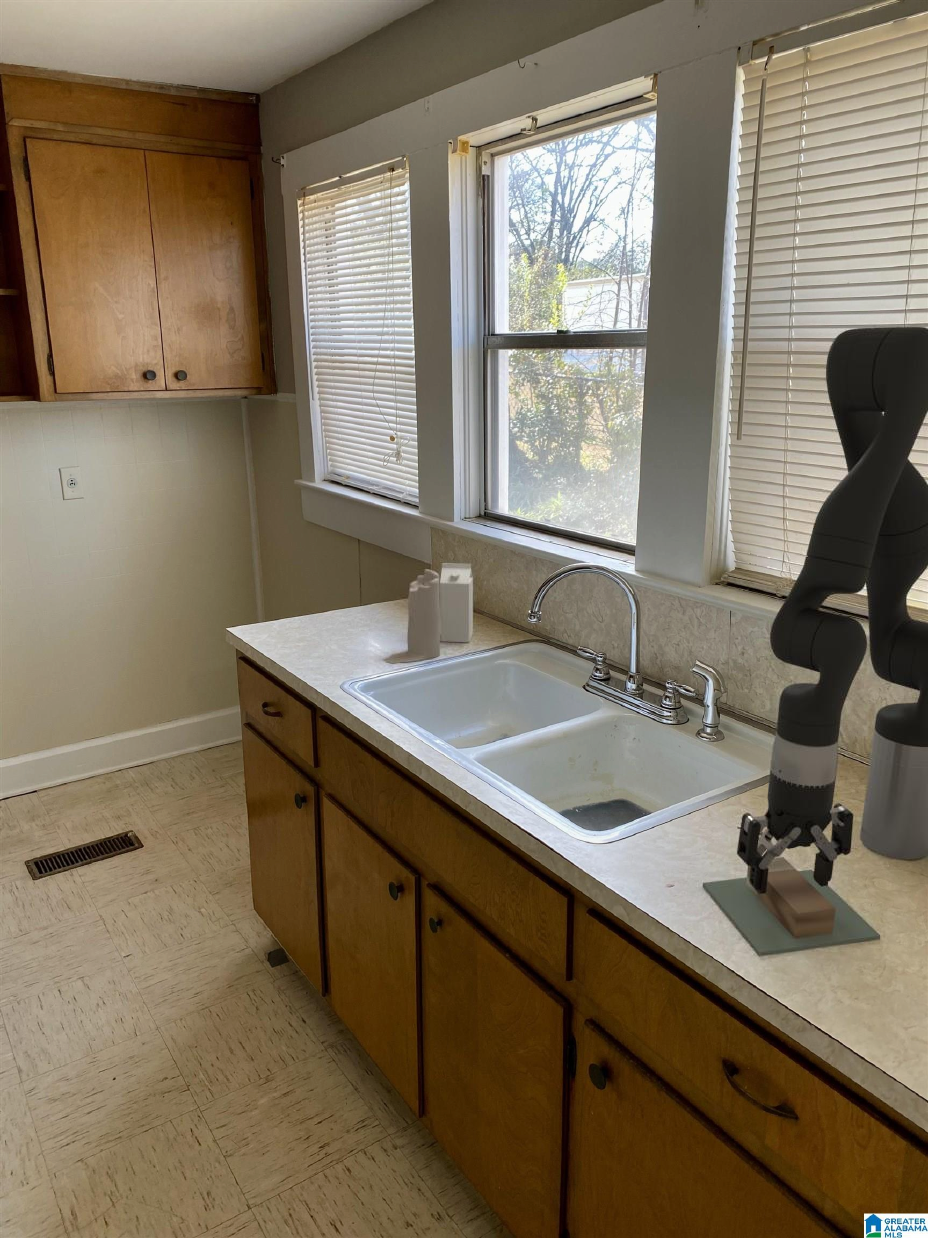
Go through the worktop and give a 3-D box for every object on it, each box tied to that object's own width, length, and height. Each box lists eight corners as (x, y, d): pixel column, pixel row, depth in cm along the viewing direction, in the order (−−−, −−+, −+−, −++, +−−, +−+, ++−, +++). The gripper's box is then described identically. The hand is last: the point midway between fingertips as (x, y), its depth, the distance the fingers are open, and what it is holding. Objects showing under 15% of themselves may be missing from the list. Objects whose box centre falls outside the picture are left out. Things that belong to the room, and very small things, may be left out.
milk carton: (445, 633, 232) (444, 560, 226) (472, 634, 231) (472, 560, 225) (440, 642, 225) (439, 566, 220) (469, 643, 224) (469, 567, 219)
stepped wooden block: (832, 933, 111) (835, 908, 110) (794, 938, 110) (797, 913, 109) (780, 880, 123) (783, 857, 122) (746, 884, 122) (748, 861, 121)
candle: (378, 657, 214) (376, 574, 208) (430, 647, 220) (429, 566, 215) (392, 666, 208) (390, 580, 202) (445, 656, 214) (444, 573, 209)
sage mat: (811, 872, 125) (811, 869, 125) (880, 939, 111) (880, 935, 111) (702, 886, 122) (702, 883, 122) (759, 956, 108) (759, 952, 108)
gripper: (765, 789, 106) (752, 910, 111) (874, 777, 109) (858, 897, 114) (734, 761, 113) (724, 877, 118) (837, 751, 116) (823, 865, 121)
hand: (789, 886), depth 116 cm, fingers open, 8 cm apart
